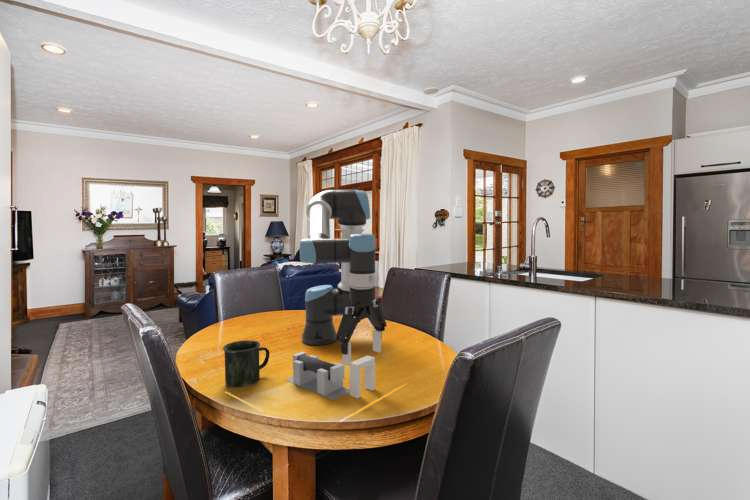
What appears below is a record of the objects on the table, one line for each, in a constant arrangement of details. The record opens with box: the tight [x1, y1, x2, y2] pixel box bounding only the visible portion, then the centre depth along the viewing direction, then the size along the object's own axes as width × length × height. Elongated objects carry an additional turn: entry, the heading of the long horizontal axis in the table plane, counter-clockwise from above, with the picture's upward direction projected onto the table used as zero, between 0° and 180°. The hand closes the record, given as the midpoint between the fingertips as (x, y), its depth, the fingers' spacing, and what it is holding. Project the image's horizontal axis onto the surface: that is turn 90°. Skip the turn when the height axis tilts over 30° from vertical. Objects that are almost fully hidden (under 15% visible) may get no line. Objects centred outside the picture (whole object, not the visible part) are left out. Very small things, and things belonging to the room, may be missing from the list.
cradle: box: [285, 354, 350, 401], centre depth 120 cm, size 22×8×8 cm, turn 51°
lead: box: [292, 351, 346, 383], centre depth 119 cm, size 19×4×4 cm, turn 51°
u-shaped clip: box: [349, 355, 376, 399], centre depth 115 cm, size 3×8×10 cm, turn 141°
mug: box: [222, 339, 270, 388], centre depth 124 cm, size 11×15×12 cm
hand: (362, 357), depth 115 cm, fingers open, 13 cm apart
